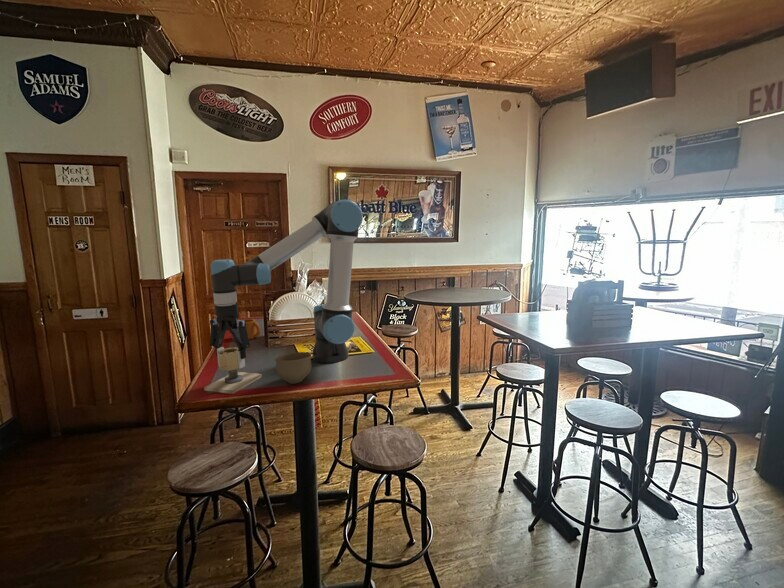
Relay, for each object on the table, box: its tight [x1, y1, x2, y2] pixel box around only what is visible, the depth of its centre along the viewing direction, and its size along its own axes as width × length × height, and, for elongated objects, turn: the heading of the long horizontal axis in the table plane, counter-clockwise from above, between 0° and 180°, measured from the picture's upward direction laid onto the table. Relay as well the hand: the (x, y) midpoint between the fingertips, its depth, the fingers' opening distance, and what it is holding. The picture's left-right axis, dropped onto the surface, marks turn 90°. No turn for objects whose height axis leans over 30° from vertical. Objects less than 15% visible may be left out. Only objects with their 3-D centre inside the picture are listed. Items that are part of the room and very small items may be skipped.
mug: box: [237, 318, 261, 340], centre depth 209 cm, size 9×12×9 cm
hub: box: [203, 369, 263, 395], centre depth 147 cm, size 12×16×8 cm
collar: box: [218, 346, 240, 372], centre depth 147 cm, size 8×8×6 cm
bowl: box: [274, 351, 313, 385], centre depth 147 cm, size 13×13×10 cm
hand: (231, 366), depth 147 cm, fingers closed on collar, 8 cm apart
